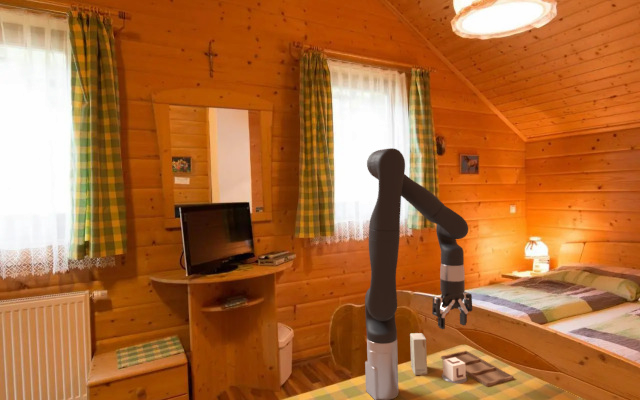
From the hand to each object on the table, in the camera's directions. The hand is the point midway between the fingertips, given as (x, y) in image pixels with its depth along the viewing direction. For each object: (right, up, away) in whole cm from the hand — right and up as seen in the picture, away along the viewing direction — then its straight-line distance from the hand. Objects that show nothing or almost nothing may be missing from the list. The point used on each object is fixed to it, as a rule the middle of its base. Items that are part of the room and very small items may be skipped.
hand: (452, 326), depth 129 cm
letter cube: (+1, -17, +1) cm, 17 cm away
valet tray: (+10, -17, +6) cm, 20 cm away
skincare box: (-9, -18, +6) cm, 21 cm away
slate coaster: (+1, -17, +1) cm, 17 cm away
